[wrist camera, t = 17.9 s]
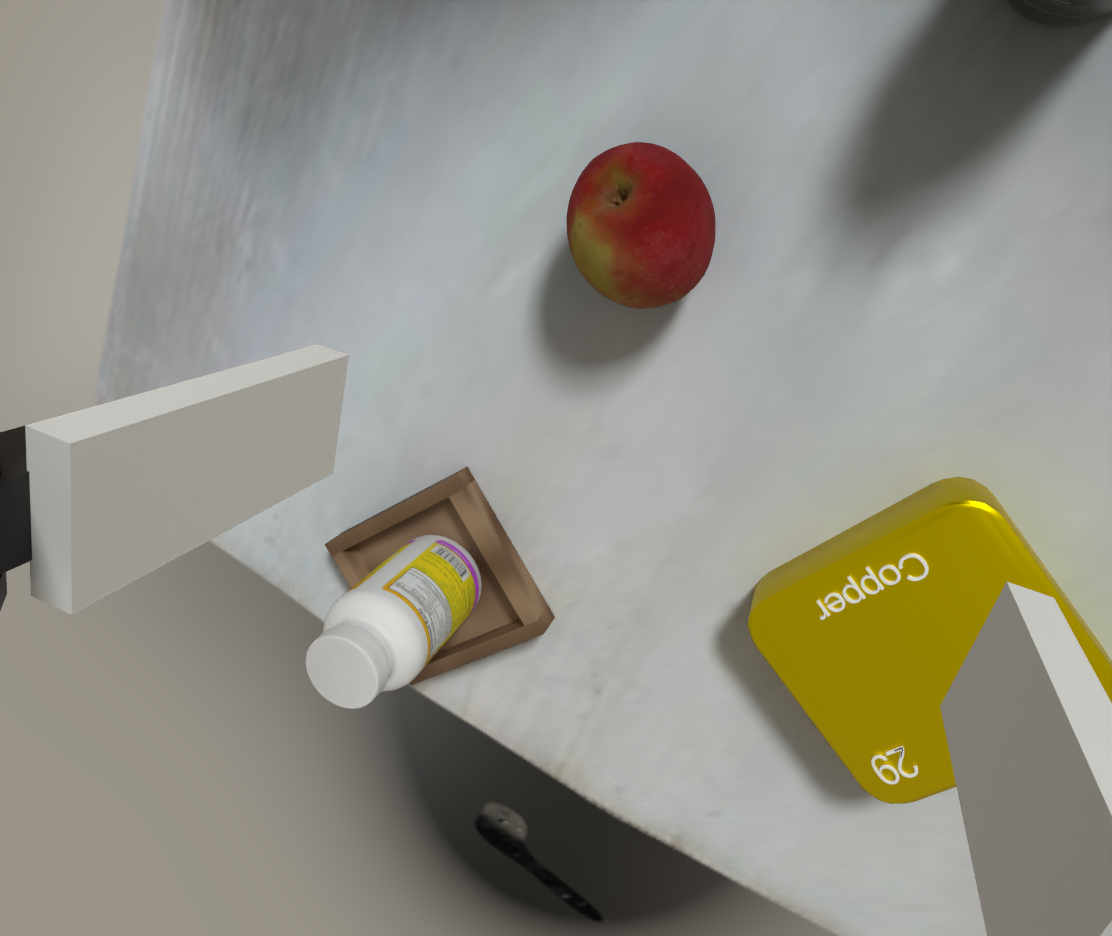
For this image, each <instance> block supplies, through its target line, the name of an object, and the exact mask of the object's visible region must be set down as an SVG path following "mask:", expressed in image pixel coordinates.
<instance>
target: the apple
mask: <svg viewBox="0 0 1112 936" xmlns="http://www.w3.org/2000/svg"><path fill="white" fill-rule="evenodd" d="M567 235H568V241H569V246H570V249H571V253H572V256H573V258H574V261H575V263H576V265H577V267H578V269H579V270H580V272H581V274H582V275H583V276H584V277H585V279H586V280H587V281H588V282H589V283H590V284H591V285H592V286H593V287H594V288H595V289H596V290H597V291H598V292H600V293H601V294H602V295H604V296H605V297H607V298H609V299H610V300H613V301H615V302H617V303H619V304H622V305H624V306H627V307H631V308H638V309H643V308H653V307H659V306H664V305H667V304H670V303H672V302H675V301H677V300H679V299H681V298H682V297H684V296H685V295H687V294H688V293H689V292H690V291H691V290H692V289H693V288H694V287H695V286H696V285H697V284H698V283H699V281H700V280H701V279H702V277H703V276H704V274H705V272H706V270H707V268H708V266H709V263H710V260H711V256H712V252H713V247H714V242H715V213H714V208H713V204H712V201H711V198H710V195H709V193H708V191H707V188H706V186H705V185H704V183H703V181H702V180H701V178H700V177H699V175H698V174H697V173H696V172H695V171H694V170H693V169H692V168H691V167H690V166H689V165H688V164H687V163H686V162H685V161H684V160H683V159H682V158H681V157H680V156H678V155H677V154H675V153H673V152H672V151H670V150H668V149H666V148H664V147H661V146H658V145H655V144H651V143H643V142H635V143H628V144H624V145H619V146H617V147H614V148H611V149H609V150H607V151H605V152H603V153H601V154H600V155H598V156H597V157H595V158H594V159H593V160H592V161H591V162H590V163H589V164H588V165H587V167H586V168H585V169H584V170H583V172H582V173H581V175H580V177H579V179H578V180H577V182H576V184H575V187H574V189H573V191H572V194H571V197H570V200H569V205H568V211H567Z"/></svg>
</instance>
